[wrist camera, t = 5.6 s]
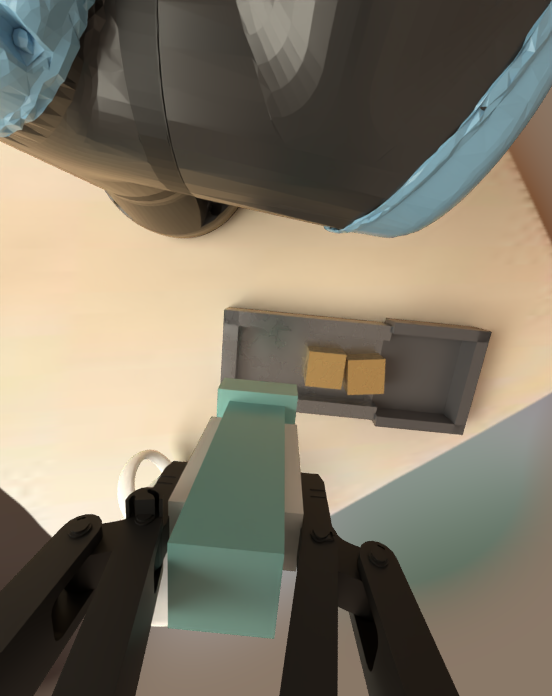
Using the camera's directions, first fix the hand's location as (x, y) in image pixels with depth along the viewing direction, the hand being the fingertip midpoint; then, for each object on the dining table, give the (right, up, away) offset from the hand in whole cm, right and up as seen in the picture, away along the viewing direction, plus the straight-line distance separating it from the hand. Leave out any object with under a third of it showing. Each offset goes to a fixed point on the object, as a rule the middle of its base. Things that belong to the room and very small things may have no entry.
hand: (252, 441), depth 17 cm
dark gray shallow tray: (+4, +4, +18) cm, 19 cm away
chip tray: (+18, +3, +18) cm, 26 cm away
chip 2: (+11, +3, +17) cm, 21 cm away
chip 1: (+7, +4, +17) cm, 19 cm away
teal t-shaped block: (0, +1, +3) cm, 4 cm away
